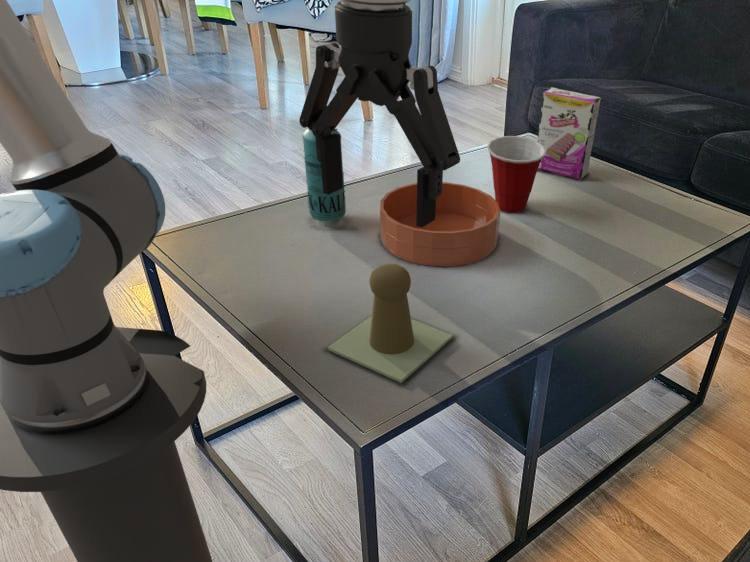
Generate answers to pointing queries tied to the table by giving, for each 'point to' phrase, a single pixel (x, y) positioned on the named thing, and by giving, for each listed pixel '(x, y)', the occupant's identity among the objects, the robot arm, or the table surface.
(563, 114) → the candy bar box
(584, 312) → the table surface
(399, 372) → the coaster
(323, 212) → the beverage bottle
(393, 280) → the brown peg doll
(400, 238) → the bowl
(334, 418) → the table surface
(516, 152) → the plastic cup
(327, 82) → the robot arm
